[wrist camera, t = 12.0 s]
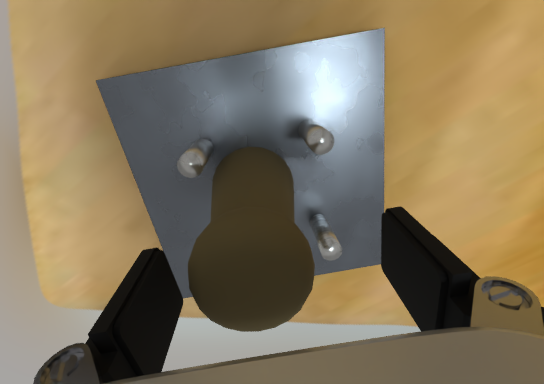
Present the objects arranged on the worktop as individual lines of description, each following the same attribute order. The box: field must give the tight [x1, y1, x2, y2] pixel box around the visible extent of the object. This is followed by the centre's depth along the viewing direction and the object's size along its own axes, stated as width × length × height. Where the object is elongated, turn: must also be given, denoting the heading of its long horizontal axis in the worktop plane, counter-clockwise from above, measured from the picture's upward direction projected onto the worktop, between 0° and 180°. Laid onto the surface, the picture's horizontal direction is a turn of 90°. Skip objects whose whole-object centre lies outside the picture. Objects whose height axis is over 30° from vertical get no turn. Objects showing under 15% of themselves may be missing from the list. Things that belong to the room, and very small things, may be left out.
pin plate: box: [96, 28, 385, 298], centre depth 18 cm, size 18×18×5 cm
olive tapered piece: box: [188, 147, 315, 331], centre depth 15 cm, size 6×6×11 cm
